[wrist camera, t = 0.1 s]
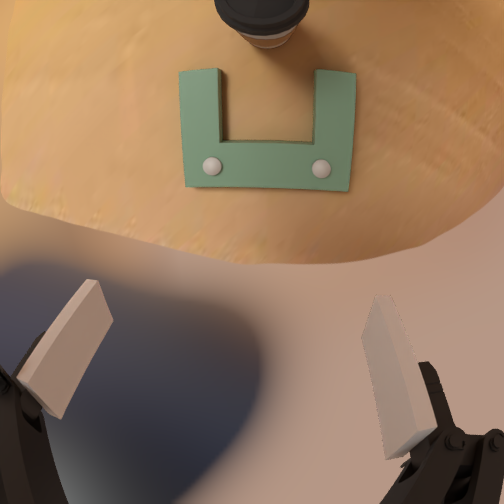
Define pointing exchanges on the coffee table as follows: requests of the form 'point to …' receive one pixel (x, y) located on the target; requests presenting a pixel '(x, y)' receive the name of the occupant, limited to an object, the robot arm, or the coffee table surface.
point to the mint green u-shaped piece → (267, 151)
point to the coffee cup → (263, 19)
